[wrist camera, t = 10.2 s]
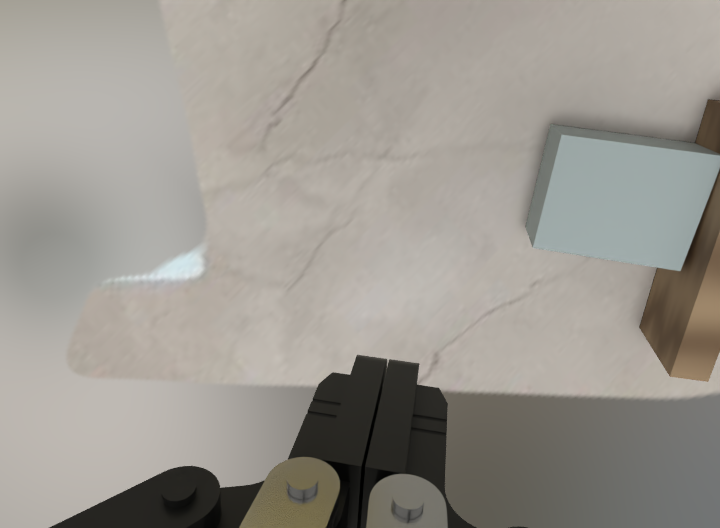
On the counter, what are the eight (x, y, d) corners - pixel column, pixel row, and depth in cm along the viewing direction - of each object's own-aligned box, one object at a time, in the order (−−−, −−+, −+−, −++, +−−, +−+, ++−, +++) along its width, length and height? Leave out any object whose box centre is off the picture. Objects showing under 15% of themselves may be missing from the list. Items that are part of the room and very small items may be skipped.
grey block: (549, 123, 39) (561, 134, 35) (693, 142, 38) (724, 156, 33) (525, 225, 42) (532, 247, 38) (656, 245, 41) (680, 271, 37)
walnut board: (708, 99, 36) (760, 112, 30) (747, 102, 36) (808, 115, 30) (639, 327, 44) (669, 376, 37) (671, 331, 43) (708, 381, 37)
